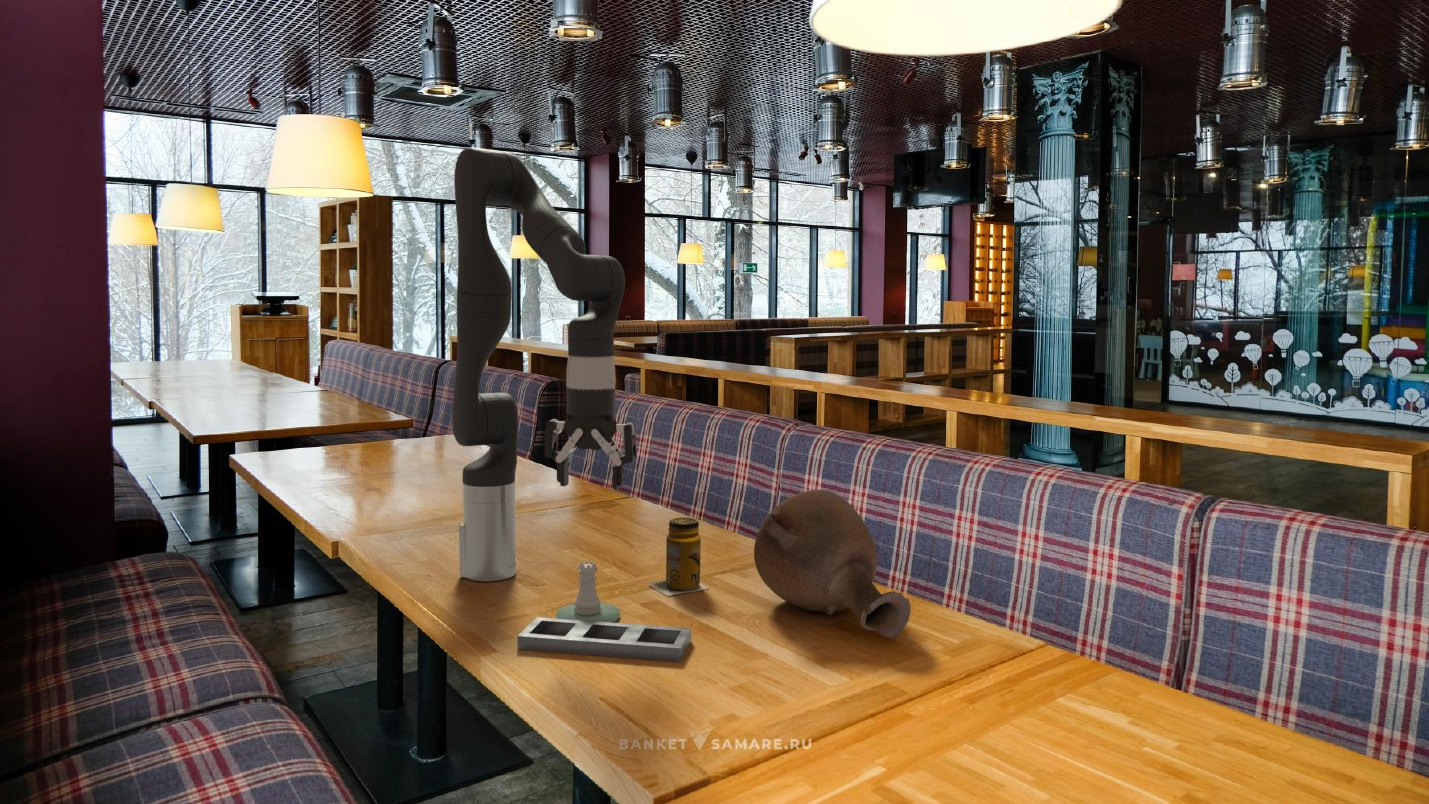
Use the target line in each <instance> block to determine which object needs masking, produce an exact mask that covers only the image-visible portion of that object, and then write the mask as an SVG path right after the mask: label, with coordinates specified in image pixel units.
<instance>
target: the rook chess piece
mask: <svg viewBox="0 0 1429 804" xmlns="http://www.w3.org/2000/svg"><path fill="white" fill-rule="evenodd" d="M576 570H577V572H578V573H579V577H578V580H579V588H578V594H577V596H576V599H575V600H574V603H573V604H574V605H575V608H574V611H575V613H576V614H578V615H581V616H593V615H596V614H598V613H599V612H600V611H601V609H602V608H601V607H600V605H601V603H602V602H601V599H600V598H599V595H598V593H597V588H596V580H597V577H596V572H597V571H598V570H599V569H598V567H597V566H596V562H595V561H592V560H591V561H590V562H589V561H588V560H585V561H580V562H579V565H578V567H577V568H576Z"/></svg>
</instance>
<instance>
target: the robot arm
mask: <svg viewBox="0 0 1429 804" xmlns="http://www.w3.org/2000/svg"><path fill="white" fill-rule="evenodd" d="M453 176H454V177H453V178H454V184H453V185H454V198H455V199H454V200H455V211H456V212H455V213H456V227H457V242H458V243H457V252H458V253H457V287H456V365H455V376H454V386H453V387H454V388H453V397H452V406H451V407H452V410H451V411H452V412H451V427H452V433H453V436H454V439H455V440H456V442H457V443H458V445H460V446H462V447H476V446H477V447H478V446H489V445H490V446H489V450H487V452H486V453H484V455H482V456H481V457H479V458H477V459H476V460H474V461H472V462H470V463H468V464H466V465H465V466H464V467H463V469H462V474H461V475H462V477H461V478H462V508H463V509H462V515H463V516H462V521H463V522H462V523H461V524H459V525H458V547H459V548H458V549H459V552H458V553H459V559H458V560H459V578H465V579H467V580H471V581H476V582H496V581H503V580H506V579H509V578H512V577H514V576H515V575H516V573H517V543H516V542H517V539H516V537H517V536H516V535H517V531H516V526H517V523H516V519H517V518H516V471H517V465H518V440H519V439H518V438H519V437H518V436H519V412H518V411H519V410H518V405H517V402H516V400H515V399H514V397H513V396H512V395H511V394H510V393H508V392H489V393H488V392H485V393H480V392H479V391H480V384H481V379H482V375H483V372H484V369H485V366H486V364H487V362H488V360H489V359H490V357H491V355H492V354H493V352H494V351H495V350H496V348H497V346H498V345H499V343H500V342H501V340H502V339H503V337H504V335H505V334H506V331H507V329H508V328H509V325H510V323H511V318H512V317H511V316H512V292H513V291H512V290H513V289H512V288H513V287H512V281H511V278H510V276H509V274H508V271H507V269H506V267H505V265H504V263H503V262H502V260H501V258H500V257H499V254H498V252H497V250H496V249H495V247H494V245H493V243H492V240H491V238H490V234H489V230H488V223H487V221H488V220H487V206H494V207H495V206H497V207H500V206H501V207H504V206H507V207H510V208H512V209H513V210H515V211H516V212H518V213H519V214H520V215H521V216H522V219H521V220H522V221H521V223H522V225H521V227H522V229H521V230H522V233H523V236H524V239H525V240H526V242H527V244H528V245H529V247H530V248H531V249H532V250H533V251H534V252H535V254H536V255H537V256H538V257H539V258H540V259H541V260H542V261H543V262H544V263H545V264H546V265H547V268H548V271H549V273H550V276H551V278H552V279H553V283H554V284H555V286H556V289H557V290H558V291H559V293H560V294H561V295H562V296H564V297H565V298H567V299H569V300H571V301H574V302H575V301H576V302H590V304H589V307H588V310H587V312H586V313H585V314H584V315H581V316H578V317H575V318H573V319H571V320H570V321H569V324H568V329H567V330H568V333H567V355H568V356H567V364H566V373H565V374H566V379H565V380H566V383H565V384H566V387H565V388H566V400H565V401H566V403H565V404H566V413H565V414H566V418H565V420H564V421H563V420H562V421H561V420H560V421H559V420H558V419H557V418H553V419H551V420H548V421H547V422H546V425H545V441H544V443H545V444H544V457H545V458H546V459H551V460H553V461H554V462H556V481H557V483H559V484H560V487H567V486H568V485H569V483H570V480H569V479H570V472H569V471H570V469H569V467H570V466H569V465H570V462H569V460H568V458H569V457H570V456H571V454H572V453H573V452H574V451H575V450H576V449H577V448H578V449H579V450H588V449H589V450H593V451H600V450H602V451H603V452H604V453H605V455H607V456H608V457H609V458H610V460H611V461H612V463H613V464H614V465H613V466H612V490H619V489H620V488H621V486H623V484H624V483H625V465H626V464H628V463H629V464H631V463H632V462H633V461H635V460H636V459H637V456H638V455H637V454H638V453H637V437H636V436H637V435H636V424H635V423H634V422H628V423H617V421H616V384H617V383H616V382H617V378H616V366H615V355H614V354H615V353H614V351H615V350H614V349H615V348H614V347H615V342H614V341H615V340H614V337H615V336H614V331H615V327H616V323H617V319H618V316H619V312H620V308H621V305H622V302H623V298H624V293H625V290H626V289H625V287H626V276H625V271H624V268H623V267H622V265H621V263H620V261H619V260H617V258H615V257H613V256H611V255H600V254H599V255H597V254H586V253H587V248H586V247H587V245H586V242H585V240H584V238H583V237H582V236H581V235H580V234H579V232H577V230H575V228H574V227H572V226H571V224H569V223H568V221H567V220H565V218H563V216H561V214H559V213H558V211H556V209H555V208H554V206H553V205H552V204H551V203H550V201H549V200H548V199H547V196H546V195H545V193H544V192H543V191H542V189H541V188H540V186H539V185H538V183H537V182H536V180H535V179H534V177H533V175H532V174H531V172H530V171H529V170H528V168H527V166H526V165H525V163H524V162H523V161H522V160H521V159H520V158H519V157H518V156H517V155H515V154H514V153H512V152H509V151H504V150H503V151H502V150H495V149H489V148H488V149H487V148H479V147H467V148H464V149H462V150H461V151H460V153H459V154H458V156H457V159H456V163H455V167H454V175H453ZM562 430H564V431H565V433H566V434H567V436H568V437H569V438H568V440H567V441H566V443H565V444H564V445H563V446H562V449H561V450H558V443H559V442H558V441H559V434H561V433H562V432H563V431H562ZM617 432H619V435H620V437H621V438H623V441H624V455H623V453H622V451H621V450H620V448H619V445H618V444H617V443H616V441H615V439H613V437H614V436H615V434H616V433H617Z"/></svg>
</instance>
